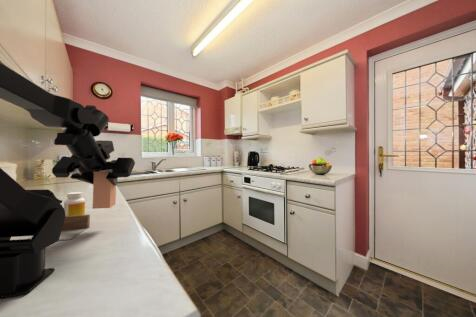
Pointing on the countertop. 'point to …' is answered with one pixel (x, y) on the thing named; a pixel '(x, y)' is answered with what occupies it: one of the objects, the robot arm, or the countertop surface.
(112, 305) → the countertop surface
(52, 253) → the countertop surface
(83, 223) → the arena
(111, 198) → the terracotta block
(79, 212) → the supplement bottle
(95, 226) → the countertop surface
